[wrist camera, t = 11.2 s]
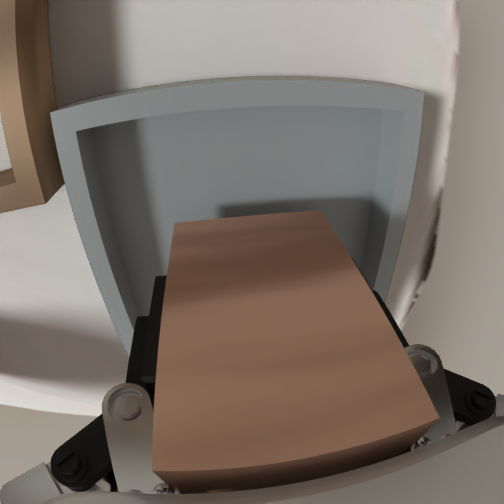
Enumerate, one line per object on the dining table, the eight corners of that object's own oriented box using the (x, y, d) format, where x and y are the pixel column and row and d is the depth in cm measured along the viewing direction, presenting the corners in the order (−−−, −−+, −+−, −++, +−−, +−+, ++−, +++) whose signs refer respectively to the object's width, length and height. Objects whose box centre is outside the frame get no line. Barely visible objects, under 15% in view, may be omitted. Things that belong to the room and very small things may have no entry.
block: (174, 222, 11) (152, 470, 4) (320, 210, 11) (439, 417, 4) (195, 326, 13) (202, 514, 7) (309, 313, 14) (368, 486, 7)
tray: (78, 100, 10) (49, 112, 8) (389, 83, 11) (424, 92, 9) (149, 354, 17) (145, 389, 15) (349, 332, 18) (363, 363, 16)
